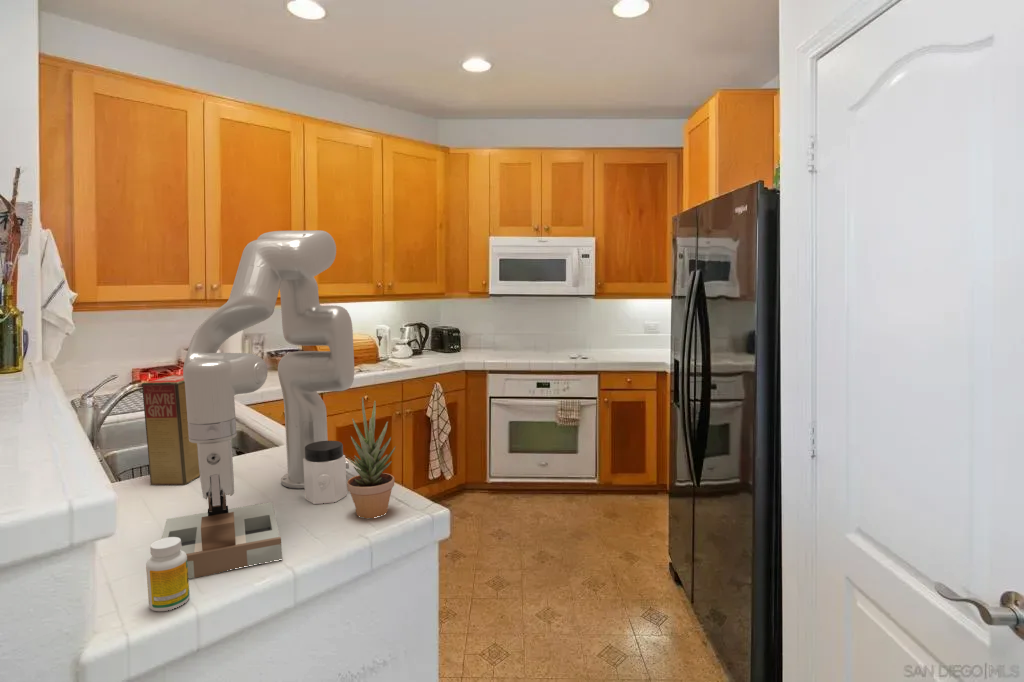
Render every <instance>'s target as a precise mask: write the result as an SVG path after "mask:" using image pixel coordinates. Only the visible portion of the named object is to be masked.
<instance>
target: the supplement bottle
mask: <svg viewBox="0 0 1024 682" xmlns="http://www.w3.org/2000/svg"><path fill="white" fill-rule="evenodd" d="M181 547H182V545H181V539H180V538H178V537H168V538H163V539H162V538H161V539H158V540H155V541H153V542H152V543H151V544H150V546H149V548H150V555H151V556H150V557H149V558H148V559H147V561H146V564H145V565H146V567H145V569H146V580H147V581H146V582H147V583H146V584H147V594H148V596H147V597H148V599H147V600H148V604H149V605H148V606H149V609H151V611H154V612H169V611H173V610H175V609H174V608H176V609H178V608H180V607H182V606H183V604H184V603H185V604H186V603H187V602H188V601H189V599H190V596H191V594H190V583H189V582H190V581H189V580H190V579H188V563H187V555H186V553H185V552H184V551H182V550H180V549H181ZM185 604H184V605H185ZM181 605H182V606H181ZM179 606H180V607H179ZM177 607H178V608H177ZM172 609H173V610H172ZM168 610H169V611H168Z"/></svg>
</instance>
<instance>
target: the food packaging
mask: <svg viewBox="0 0 1024 682" xmlns="http://www.w3.org/2000/svg"><path fill="white" fill-rule="evenodd" d="M141 388H142V397H143V398H142V401H143V412H144V423H145V433H146V443H147V456H148V469H149V470H148V471H149V481H150V482H149V485H150V486H185V484H186V485H188V484H189V483H192V481H195V480H196V479H198V478H200V477H199V476H200V473H199V463H198V450H197V443H192V442H190V441H189V434H188V420H187V406H186V392H185V382H184V378H183V373H182V374H172V375H170V376H165V377H162V378H159V379H154V380H151V381H146V382H142V383H141ZM194 479H195V480H194ZM187 483H188V484H187Z"/></svg>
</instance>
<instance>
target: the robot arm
mask: <svg viewBox="0 0 1024 682" xmlns="http://www.w3.org/2000/svg"><path fill="white" fill-rule="evenodd" d="M336 256H337V245H336V241H335V240H334V237H333V236H332V235H331V234H330V233H329V232H327V231H325V230H317V229H316V230H274V231H268V232H264V233H262V234H260V235H259V236H258V237H257V239H254V240H252V241H250V242H248V243H247V245H246V246H245V247H244V249H243V251H242V253H241V257H240V260H239V264H238V267H237V271H236V274H235V277H234V281H233V285H232V287H231V290H230V295H229V297H228V300H227V302H225V303H224V304H222V305H221V306H220V307H219V308H218V309H216V310H215V311H214V312H213V313H212V314H210V315H209V316H208V317H207V318H206V319H205V320H204V321H203V322H202V323H201V324H200V325H199V326H198V328H197V329H196V330H195V332H194V333H193V335H192V336H191V340H190V342H189V346H188V350H187V352H186V355H185V359H184V364H183V368H182V375H183V378H184V382H185V392H186V406H187V420H188V434H189V441H190V442H192V443H197V450H198V463H199V473H200V477H199V479H200V487H201V494H202V498H203V499H205V500H207V501H208V503H207V504H208V508H207V512H208V516H212V515H218V514H224V513H228V509H229V506H228V505H227V495H228V496H230V497H231V496H233V495H234V494H235V479H234V478H235V477H234V476H235V474H234V464H233V463H234V462H233V449H232V441H231V440H232V439H233V438H234V439H235V437H237V435H238V434H237V418H236V405H235V404H236V403H235V396H236V395H237V396H238V395H243V394H245V395H246V394H250V393H255V392H256V391H258V390H259V389H261V388H262V387H263V386H264V384H265V382H266V380H267V378H268V366H267V363H266V362H265V360H264V359H263V358H262V357H261V356H259V355H257V354H254V353H249V352H218V351H219V349H220V347H221V346H222V344H224V342H226V340H228V339H229V338H231V337H232V336H234V335H236V334H237V333H239V332H242V331H245V330H246V329H248V328H251V327H254V326H256V325H257V324H260V323H262V322H264V321H267V320H268V319H269V318H271V316H272V315H273V313H274V312H275V307H276V304H277V300H278V295H280V308H281V309H280V310H281V326H282V327H281V328H282V335H283V338H284V341H286V342H287V343H288V344H290V345H293V346H306V347H307V346H311V347H312V346H313V347H315V346H317V347H320V346H322V347H323V346H327V347H328V348H329V350H328V351H326V350H324V351H322V350H321V351H320V350H298V351H297V350H296V351H292V352H289V353H286V354H285V355H283V356H282V357H281V359H280V360H279V361H278V364H277V376H278V380H279V384H280V388H281V392H282V397H283V398H282V400H283V407H284V408H283V409H284V424H285V425H284V428H285V444H286V464H287V466H286V467H287V473H285V474H284V475H283V476H282V477H281V479H280V482H281V485H282V486H284V487H286V488H290V489H305V485H304V465H303V459H304V458H305V446H306V445H308V444H311V443H314V442H319V441H329V438H328V421H327V420H328V419H327V407H326V404H325V402H324V400H323V398H322V397H321V395H320V394H319V393H318V392H342V391H346V390H348V389H349V388H351V387H352V385H353V384H354V379H355V355H354V354H355V352H354V351H355V350H354V349H355V348H354V330H353V329H354V328H353V323H352V318H351V315H350V313H349V311H348V310H347V309H346V308H345V307H343V306H340V305H329V304H328V305H327V304H326V305H321V304H320V300H319V299H320V298H319V297H320V296H319V287H318V282H317V280H316V278H315V277H316V276H318V275H319V274H321V273H323V272H324V271H326V270H327V269H330V267H331V266H332V264H334V262H335V259H336ZM345 462H346V470H347V469H349V468H350V465H349V460H345Z"/></svg>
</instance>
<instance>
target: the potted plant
mask: <svg viewBox="0 0 1024 682" xmlns="http://www.w3.org/2000/svg"><path fill="white" fill-rule="evenodd" d="M364 402H365V401H364V396H363V397H361V414H362V419H363V428H364V435H363V434H362V432H361V430H360V429H359V426H358V424H357V423H356V421H355V419H354V418H352V419H351V420H352V424H353V427H354V429H355V432H356V434H357V436H358V439H359V443H360V445H361V446H360V445H359V444H358V443H357V441H356V440H355V438H353V436H352V435H350V439H351V441H352V444H353V446H354V448H355V450H356V452H357V455H358V456H359V457H358V456H357V455H354V458H353V460H354V461H353V460H352V459H350V458H347V459H348V460H347V461H348V462H349V461H350V463H351V464H353V465H354V466H352V467H353V469H354V470H355V471H356V473H357V474H358V475H356V476H353V477H351V478H349V479H348V480H346V486H347V492H349V494H350V496H351V499H352V502H353V504H354V506H355V507H354V508H355V513H356V515H357V517H358V516H360V517H364V518H374V517H377V516H381V515H384V514H385V513H386V514H387V513H388V510H389V503H390V499H391V494H392V490H393V488H394V486H395V476H394V475H393V474H390V473H385V472H384V471H385V470H386V469H387V468H388V467H389V466H390V465H391V463H392V462H393V461H392V460H391V461H389V459H390V458H391V456H392V454H393V453H394V452H395V450H396V447H397V446H394V447H393V448H392V450H391V451H390V452H389V453H388V454H385V455H384V453H385V452H386V450H387V448H388V446H389V444H390V442H391V440H392V436H390V437H389V438H388V440H387V441H386V442H385V443H384V444H382V443H383V441H384V438H385V435H386V433H387V429H388V423H389V421H386V423H385V425H384V427H383V429H382V431H381V432H380V435H379V436H378V438H377V439H376V441H375V432H376V431H375V429H376V413H377V412H376V408H377V407H376V405H377V404H376V400H374V401H373V408H372V412H371V417H370V418H369V424H368V421H367V415H366V410H365V403H364ZM382 445H383V446H382ZM381 446H382V447H381ZM383 455H384V456H383ZM388 461H389V462H388ZM387 462H388V463H387ZM383 472H384V473H383ZM384 516H385V515H384ZM360 517H359V518H360ZM364 518H363V519H364ZM374 519H375V518H374Z"/></svg>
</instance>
